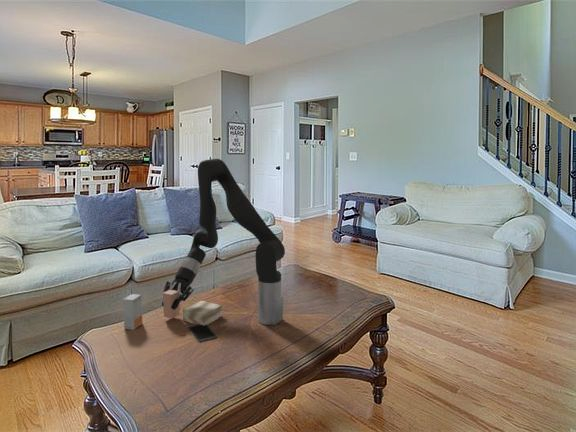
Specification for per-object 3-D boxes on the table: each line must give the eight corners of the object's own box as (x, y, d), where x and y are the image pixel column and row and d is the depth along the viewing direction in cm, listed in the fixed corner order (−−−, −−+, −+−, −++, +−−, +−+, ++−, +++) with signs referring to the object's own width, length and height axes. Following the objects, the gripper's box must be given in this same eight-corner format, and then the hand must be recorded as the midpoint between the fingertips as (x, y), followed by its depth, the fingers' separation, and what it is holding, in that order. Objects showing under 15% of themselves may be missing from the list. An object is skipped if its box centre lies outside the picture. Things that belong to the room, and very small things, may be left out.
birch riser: (221, 316, 157) (221, 305, 156) (204, 327, 148) (203, 315, 147) (201, 311, 162) (201, 300, 161) (183, 321, 153) (182, 309, 152)
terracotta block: (180, 314, 154) (179, 291, 153) (172, 318, 150) (170, 294, 149) (172, 312, 156) (171, 289, 155) (163, 316, 152) (162, 292, 151)
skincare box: (134, 330, 144) (132, 300, 142) (124, 329, 144) (122, 299, 143) (143, 323, 149) (141, 294, 148) (133, 322, 150) (131, 293, 148)
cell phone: (199, 343, 135) (199, 341, 135) (187, 328, 146) (187, 326, 146) (218, 338, 139) (218, 336, 138) (205, 324, 150) (205, 322, 150)
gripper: (171, 263, 160) (149, 300, 152) (196, 268, 154) (176, 307, 145) (180, 272, 166) (160, 308, 157) (205, 277, 159) (186, 315, 150)
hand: (168, 307), depth 151 cm, fingers closed on terracotta block, 4 cm apart
